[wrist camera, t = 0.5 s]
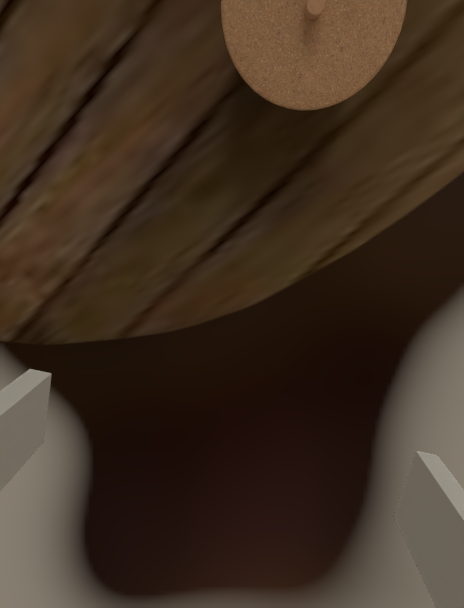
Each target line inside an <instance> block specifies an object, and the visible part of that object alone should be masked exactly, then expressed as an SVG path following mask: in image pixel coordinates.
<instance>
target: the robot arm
mask: <svg viewBox="0 0 464 608" xmlns="http://www.w3.org/2000/svg"><path fill="white" fill-rule="evenodd" d="M50 382H51V373H47V372H42V371H37V370H33V369H30V370H28V371H27V372H25V373H24V374H23V375H21V376H20V377H18V378H17V379H16V380H15V381H13V382H12V383H10V384H9V385H7V386H6V387H5V388H3V389H2V390H1V391H0V491H1V490H2V489H3V487H4V486H5V485H6V484H7V483H8V482H9V481H10V479H11V478H12V477H13V476H14V475H15V474H16V473H17V472H18V471H19V469H20V468H21V467H22V466H23V465H24V464H25V463H26V461H27V460H28V459H29V458H30V457H31V456H32V455H33V454H34V453H35V451H36V450H37V449H38V448H39V447H40V446H41V445H42V443H43V442H44V434H45V426H46V416H47V408H48V400H49V391H50ZM393 517H394V519H395V521H396V523H397V525H398V527H399V529H400V532H401V534H402V536H403V538H404V540H405V542H406V544H407V547H408V549H409V551H410V553H411V555H412V557H413V560H414V562H415V564H416V566H417V568H418V570H419V573H420V575H421V577H422V579H423V581H424V583H425V585H426V588H427V590H428V592H429V594H430V596H431V598H432V601H433V603H434V605H435V607H436V608H464V490H463V489H462V487H461V486H460V485H459V483H458V482H457V481H456V479H455V478H454V477H453V475H452V474H451V473H450V471H449V470H448V469H447V467H446V466H445V465H444V463H443V462H442V461H441V459H440V458H439V457H438V455H434V454H429V453H425V452H420V451H416V452H415V456H414V458H413V461H412V464H411V467H410V470H409V473H408V476H407V478H406V481H405V484H404V487H403V490H402V493H401V496H400V498H399V501H398V504H397V507H396V510H395V513H394V516H393Z"/></svg>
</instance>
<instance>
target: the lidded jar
mask: <svg viewBox="0 0 464 608" xmlns="http://www.w3.org/2000/svg"><path fill="white" fill-rule="evenodd" d="M406 5H407V0H221V22H222V28H223V34H224V39H225V43H226V46H227V49H228V53H229V55H230V57H231V59H232V61H233V63H234V66H235V68H236V69H237V71H238V72H239V74H240V75H241V77H242V78H243V80H244V81H245V82H246V83H247V84H248V85H249V86H250V87H251V88H252V89H253V90H254V91H255V92H256V93H258V94H259V95H260V96H261V97H263V98H264V99H266V100H268V101H270V102H272V103H273V104H275V105H278V106H281V107H284V108H287V109H294V110H317V109H322V108H327V107H330V106H333V105H335V104H338V103H341V102H342V101H344V100H346V99H348V98H350V97H351V96H353V95H354V94H356V93H357V92H358V91H360V90H361V89H362V88H363V87H365V86H366V85H367V84H368V83H369V82H370V81H371V80H372V79H373V78H374V77H375V76H376V74H377V73H378V72H379V70H380V69H381V68H382V66H383V65H384V64H385V62H386V61H387V59H388V57H389V55H390V54H391V52H392V50H393V48H394V46H395V44H396V41H397V39H398V37H399V34H400V32H401V28H402V25H403V21H404V17H405V13H406Z"/></svg>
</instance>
